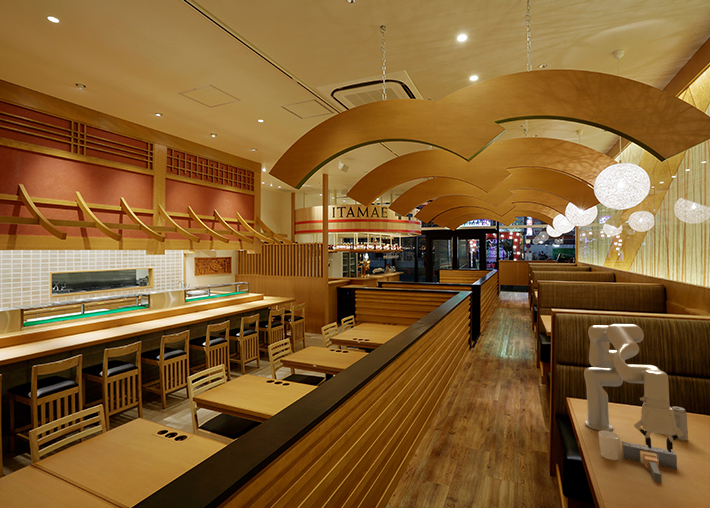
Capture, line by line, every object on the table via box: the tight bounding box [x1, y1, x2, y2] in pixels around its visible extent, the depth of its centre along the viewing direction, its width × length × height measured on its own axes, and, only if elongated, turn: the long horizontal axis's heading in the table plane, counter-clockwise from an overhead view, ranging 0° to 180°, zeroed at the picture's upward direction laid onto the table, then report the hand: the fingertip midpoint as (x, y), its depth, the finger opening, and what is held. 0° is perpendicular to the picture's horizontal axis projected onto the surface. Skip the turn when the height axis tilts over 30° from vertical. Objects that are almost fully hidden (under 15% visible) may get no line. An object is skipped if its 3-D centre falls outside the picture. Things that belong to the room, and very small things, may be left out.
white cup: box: [598, 431, 620, 461], centre depth 165 cm, size 8×8×10 cm
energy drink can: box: [671, 405, 689, 442], centre depth 180 cm, size 6×6×15 cm
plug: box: [642, 453, 662, 484], centre depth 151 cm, size 14×4×4 cm, turn 151°
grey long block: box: [621, 441, 678, 470], centre depth 160 cm, size 4×18×6 cm, turn 61°
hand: (659, 448), depth 141 cm, fingers open, 5 cm apart
